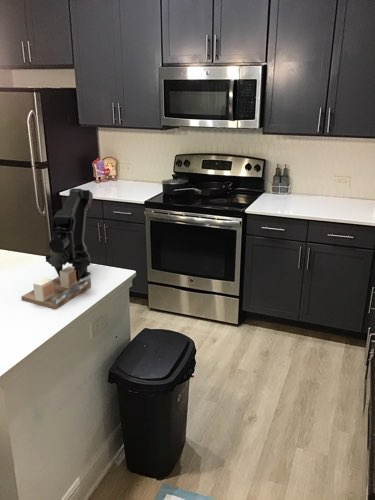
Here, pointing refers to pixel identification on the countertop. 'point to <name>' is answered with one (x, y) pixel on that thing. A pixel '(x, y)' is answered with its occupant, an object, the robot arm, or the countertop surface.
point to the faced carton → (43, 289)
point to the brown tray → (59, 293)
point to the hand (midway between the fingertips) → (69, 279)
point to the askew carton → (68, 277)
